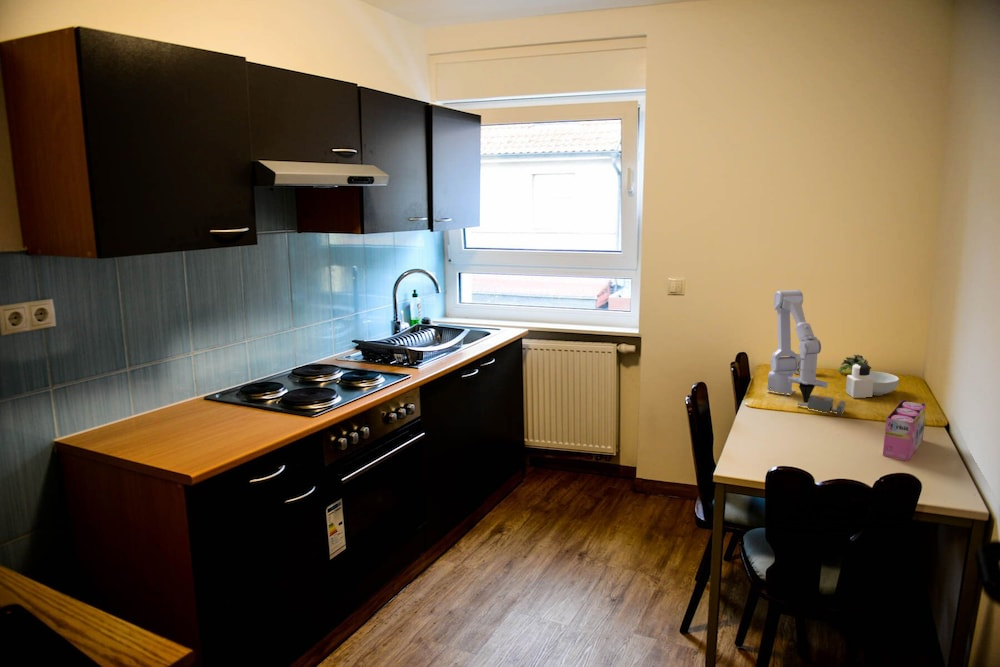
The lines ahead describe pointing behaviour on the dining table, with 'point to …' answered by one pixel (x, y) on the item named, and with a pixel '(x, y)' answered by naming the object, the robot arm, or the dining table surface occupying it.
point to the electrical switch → (798, 364)
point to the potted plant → (852, 363)
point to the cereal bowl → (883, 382)
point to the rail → (839, 408)
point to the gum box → (904, 430)
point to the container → (859, 382)
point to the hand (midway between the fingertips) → (806, 402)
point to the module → (820, 403)
